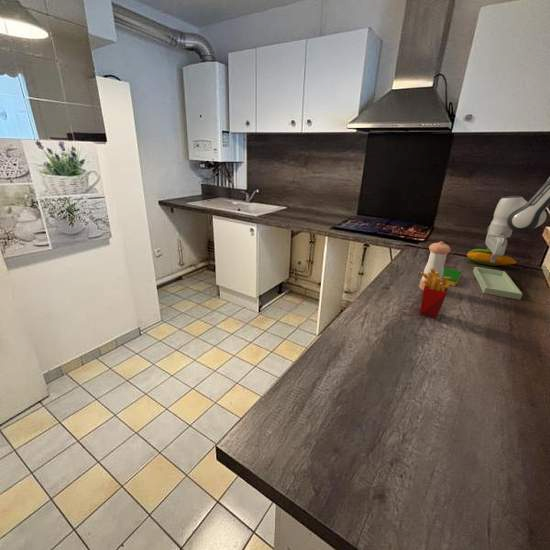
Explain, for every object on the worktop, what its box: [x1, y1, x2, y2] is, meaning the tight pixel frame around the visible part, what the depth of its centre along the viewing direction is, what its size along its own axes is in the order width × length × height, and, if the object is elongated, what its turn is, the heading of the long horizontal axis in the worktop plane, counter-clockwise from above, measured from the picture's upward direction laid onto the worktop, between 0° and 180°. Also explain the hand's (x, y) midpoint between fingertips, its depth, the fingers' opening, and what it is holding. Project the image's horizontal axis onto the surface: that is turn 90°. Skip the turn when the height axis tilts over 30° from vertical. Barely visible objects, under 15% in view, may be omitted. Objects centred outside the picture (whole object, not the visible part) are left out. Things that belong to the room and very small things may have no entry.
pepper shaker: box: [418, 241, 451, 291], centre depth 110 cm, size 7×7×19 cm
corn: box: [466, 248, 517, 267], centre depth 140 cm, size 7×8×20 cm
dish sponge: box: [441, 267, 463, 287], centre depth 123 cm, size 7×14×2 cm, turn 141°
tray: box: [472, 266, 523, 300], centre depth 119 cm, size 25×12×2 cm, turn 156°
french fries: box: [419, 268, 451, 320], centre depth 93 cm, size 9×8×15 cm
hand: (490, 259), depth 141 cm, fingers closed on corn, 7 cm apart
